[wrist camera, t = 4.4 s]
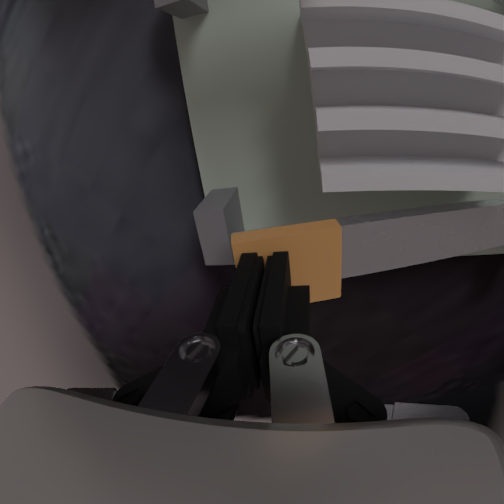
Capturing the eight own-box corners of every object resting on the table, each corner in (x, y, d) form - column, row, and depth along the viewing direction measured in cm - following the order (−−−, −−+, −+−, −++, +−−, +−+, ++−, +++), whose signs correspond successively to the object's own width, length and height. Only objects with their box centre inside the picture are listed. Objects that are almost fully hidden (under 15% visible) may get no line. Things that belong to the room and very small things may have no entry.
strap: (538, 187, 12) (557, 199, 11) (529, 233, 14) (546, 247, 12) (231, 222, 13) (231, 243, 11) (243, 286, 14) (244, 312, 13)
